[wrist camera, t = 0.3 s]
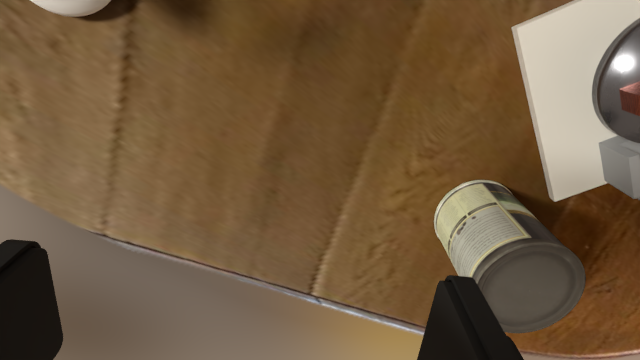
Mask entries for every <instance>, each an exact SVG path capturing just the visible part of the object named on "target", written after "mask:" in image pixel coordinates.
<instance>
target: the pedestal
mask: <svg viewBox="0 0 640 360" xmlns="http://www.w3.org/2000/svg"><path fill="white" fill-rule="evenodd" d="M639 18H640V0H574V1H572V2H570V3H567V4H565V5H563V6H560V7H558V8H556V9H553V10H551V11H548V12H546V13H544V14H541V15H539V16H537V17H534V18H532V19H530V20H527V21H525V22H523V23H520V24H518V25H516V26H513V27H511V28H512V32H513V36H514V41H515V45H516V50H517V54H518V59H519V63H520V68H521V72H522V77H523V81H524V85H525V90H526V94H527V99H528V103H529V108H530V112H531V117H532V121H533V126H534V130H535V135H536V139H537V143H538V148H539V152H540V157H541V161H542V166H543V170H544V175H545V179H546V184H547V188H548V192H549V197H550V198H551V199H552V200H553V201H554V202H556V201H559V200H562V199H564V198H567V197H570V196H573V195H576V194H579V193H581V192H584V191H587V190H590V189H593V188H595V187H598V186H601V185H604V184H607V183H609V184H611V185H613V186H614V187H616V188H617V189H619V190H621V191H622V192H624V193H625V194H627V195H628V196H630V197H632V198H633V199H635V198H637V199H639V200H640V143H636V142H633V141H630V140H627V139H625V138H623V137H621V136H619V135H616V134H615V133H613V132H611V131H610V130H608V129H607V128H606V127H605V126H604V125H603V124H602V123H601V122H600V120H599V119H598V117H597V115H596V113H595V110H594V107H593V103H592V84H593V79H594V75H595V72H596V69H597V66H598V64H599V62H600V60H601V58H602V56H603V54H604V53H605V51H606V50H607V48H608V47H609V45H610V44H611V43H612V42H613V40H614V39H615V38H616V37H617V36H618V35H619V34H620V33H621V32H622V31H623V30H624V29H625V28H626V27H628V26H629V25H630V24H632V23H633V22H634V21H636V20H637V19H639Z"/></svg>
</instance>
